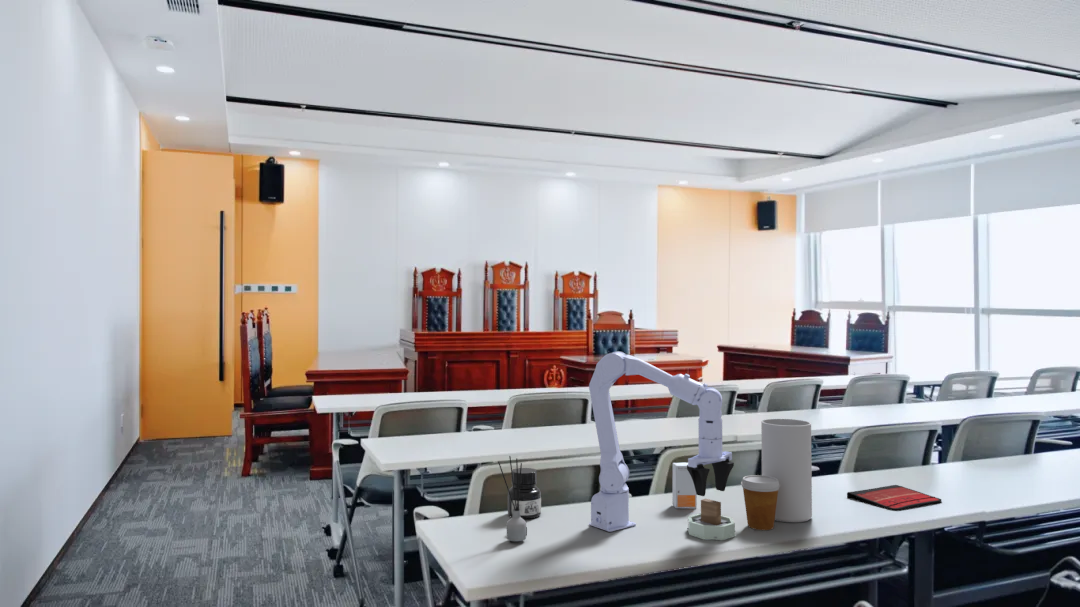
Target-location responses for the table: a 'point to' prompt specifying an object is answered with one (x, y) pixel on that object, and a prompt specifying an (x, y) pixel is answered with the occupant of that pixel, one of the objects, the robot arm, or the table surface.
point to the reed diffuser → (515, 513)
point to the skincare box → (683, 487)
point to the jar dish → (711, 528)
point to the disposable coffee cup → (760, 500)
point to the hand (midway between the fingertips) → (710, 492)
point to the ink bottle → (525, 494)
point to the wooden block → (711, 511)
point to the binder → (893, 497)
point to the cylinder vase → (789, 466)
